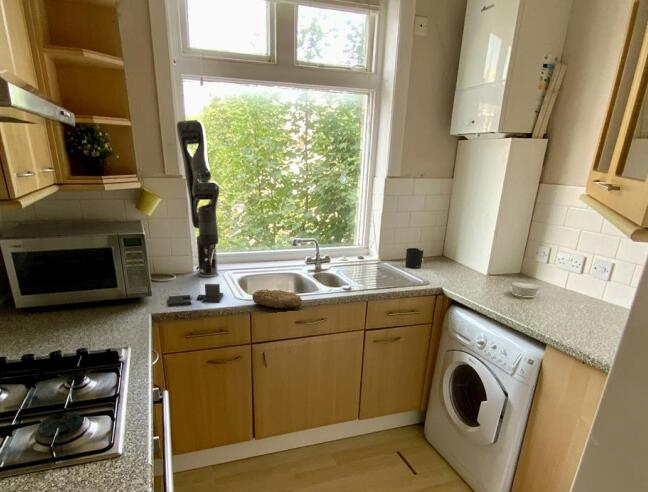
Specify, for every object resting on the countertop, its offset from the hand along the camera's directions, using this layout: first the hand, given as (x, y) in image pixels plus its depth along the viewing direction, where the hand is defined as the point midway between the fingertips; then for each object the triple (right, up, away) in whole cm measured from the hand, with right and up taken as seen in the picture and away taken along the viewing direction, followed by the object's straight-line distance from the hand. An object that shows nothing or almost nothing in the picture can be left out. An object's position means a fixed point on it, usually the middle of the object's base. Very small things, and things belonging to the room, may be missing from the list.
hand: (211, 270), depth 178 cm
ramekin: (+141, -10, +17) cm, 143 cm away
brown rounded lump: (+29, -16, -3) cm, 33 cm away
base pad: (-14, -13, 0) cm, 19 cm away
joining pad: (-2, -12, +5) cm, 13 cm away
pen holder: (+103, +9, +63) cm, 121 cm away
